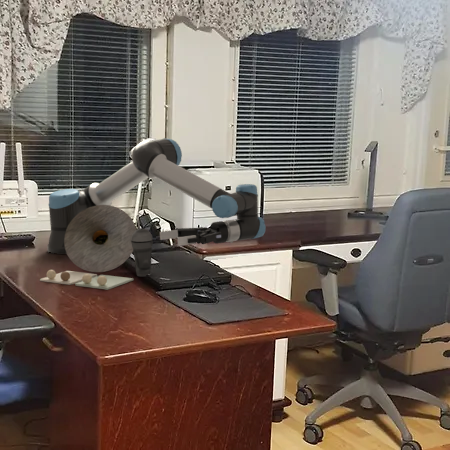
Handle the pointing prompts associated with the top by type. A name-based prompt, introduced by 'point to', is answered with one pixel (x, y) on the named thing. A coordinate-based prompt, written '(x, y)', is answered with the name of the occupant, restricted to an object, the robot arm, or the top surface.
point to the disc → (99, 238)
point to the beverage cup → (142, 250)
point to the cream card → (71, 280)
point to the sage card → (109, 282)
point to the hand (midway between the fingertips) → (168, 238)
